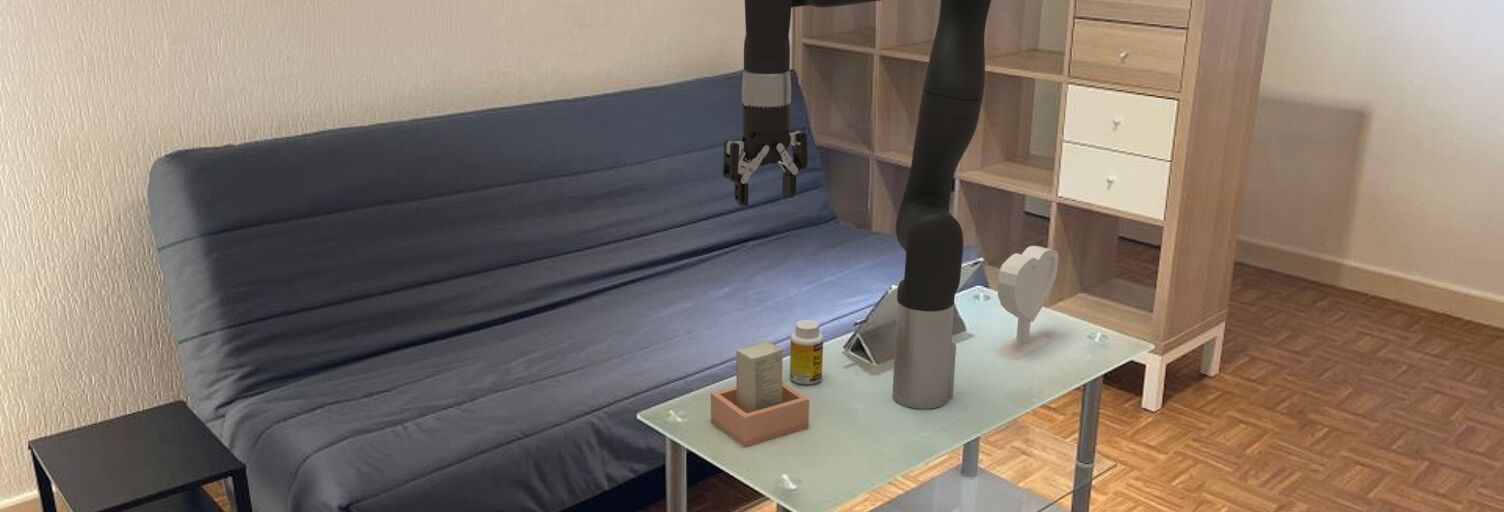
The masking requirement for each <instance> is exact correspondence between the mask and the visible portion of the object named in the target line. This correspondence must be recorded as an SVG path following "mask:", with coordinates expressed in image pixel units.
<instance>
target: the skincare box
mask: <svg viewBox="0 0 1504 512" xmlns="http://www.w3.org/2000/svg"><path fill="white" fill-rule="evenodd" d="M735 352H736V364H735V365H736V386H737V407H738V408H740V409H741V410H742V411H744V412H745V413H750V412H754V411H757V410H761V409H764V408H768V407H771V406H775V405H778V404H782V382H783V376H784V375H783V373H784V372H783V371H784V370H783V363H784V362H783V359H784V358H783V357H784V356H783V354H784V351H783V348H781V347H779V346H777V345H776V344H774V343H772V342H770V341H769V340H763V341H760V342H757V343H754V344H751V345H747V346H744V347H741V348H738V349H736V351H735Z"/></svg>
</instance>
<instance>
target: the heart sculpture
mask: <svg viewBox="0 0 1504 512" xmlns="http://www.w3.org/2000/svg"><path fill="white" fill-rule="evenodd" d="M1058 267H1059V253H1058V251H1057V250H1055V249H1051V248H1046V247H1043V246H1038V245H1030V246H1028V247H1027V248H1026V249H1024V251H1023V252H1022V253H1021V254H1020V253H1016V252H1015V253H1013V254H1011V255H1010V256H1009V257H1008V258H1007V259H1005V261H1004V262H1003V263H1002V265H1001V266H1000V269H999V270H998V276H997V297H998V300H999V302H1000V306H1002V307H1003V309H1005V311H1007V312H1008V313H1010V314H1011V315H1013V316H1014V317H1016V318H1017V327H1016V337H1015V338H1013V339H1012V340H1011V341H1009V342H1007V343H1005V344H1004V345H1002V346H1000V347H999V348H997V349H995V350H993V352H995V353H996V354H997V355H998V356H1001V357H1003V358H1008V359H1016V360H1018V359H1020V358H1022V357H1023V356H1026V355H1027V354H1028V353H1030V352H1032V351H1034V350H1035V349H1037V348H1039V347H1041V346H1042V345H1044V344H1046V343H1047V342H1048V341H1050V340H1051V339H1050V338H1049V337H1047V336H1045V335H1043V334H1040V333H1036V332H1031V323H1033V322H1034V321H1035V320H1036V318H1037V316H1038V314H1039V313H1040V311H1041V310H1042V308H1043V307H1044V305H1045V303H1046V302H1047V300H1048V298H1049V296H1050V294H1051V292H1052V290H1053V286H1054V283H1055V281H1056V278H1057V273H1058Z"/></svg>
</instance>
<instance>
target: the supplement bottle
mask: <svg viewBox="0 0 1504 512" xmlns="http://www.w3.org/2000/svg"><path fill="white" fill-rule="evenodd" d="M794 329H795V330H794V332H793V333H792V334H791V335H790V344H789V345H790V348H789V350H790V352H789V355H790V356H789V378H790V379H791V381H792V382H794V383H796V384H799V385H815V384H817V383H819V382H821V380H822V377H823V356H824V335H823V334H822V333H821V332H820V324H819V322H817V321H815V320H812V319H804V320H803V319H802V320H799V321H797V322H796V323H795V328H794Z"/></svg>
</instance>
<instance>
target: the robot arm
mask: <svg viewBox="0 0 1504 512" xmlns="http://www.w3.org/2000/svg"><path fill="white" fill-rule="evenodd" d="M880 1H882V0H744V17H745V18H744V19H745V21H744V22H745V23H744V24H745V37H744V43H743V75H742V80H741V81H742V82H741V129H742V134H743V135H742V138H741V140H738V141H737V140H736V141H733V140H729V139H727V140H725V141H724V143H723V144H724V145H723V162H722V163H723V164H722V176H723V178H724V179H727V180H730V181H731V182H734V200H735V202H737V205H739V206H741V207H748V206H749V183H748V181H749V179H750V178H751V175H752V174H753V173H755V172H756V171H757V169H758V168H759V166H760V167H763V166H767V165H769V164H770V165H775V164H778V165H779V166H780V167H781V168H782V169H783V171H784V172H782V196H783V197H785V198H787V199H789V198H793V197H794V196H795V193H796V191H797V174H798V173H799V172H800V171H802V170H806V169H808V166H809V165H808V140H807V139H808V136H807V133H806V132H803V131H800V130H797V129H793V130H792V132H789V130H790V129H791V125H792V124H791V122H792V121H791V117H792V116H791V115H792V111H791V110H792V81H791V73H790V72H791V71H790V68H791V67H790V66H791V45H790V30H791V16H792V8H795V7H796V8H797V7H806V6H812V7H814V8H832V7H841V6H850V5H859V4H867V3H873V2H880ZM991 3H992V0H940V6H939V7H940V8H939V15H938V23H937V26H936V32H935V36H934V39H933V43H932V46H931V51H930V55H929V59H928V63H927V68H926V69H927V70H926V73H925V74H926V75H925V79H924V83H923V87H922V93H921V99H920V104H919V110H918V111H919V112H918V119H917V123H916V124H917V125H916V130H915V137H914V143H913V149H912V160H911V165H910V169H909V175H908V177H907V182H906V184H905V185H906V186H905V190H904V192H903V196H902V198H901V199H902V200H901V203H900V205H899V209H898V213H897V216H896V220H895V235H896V239H897V241H898V243H899V244H900V247H902V249H903V250H904V251H905V262H904V275H903V276H904V277H903V279H901V280H900V282H899V283H898V285H897V290H896V291H897V292H896V311H895V312H896V313H895V314H896V316H895V334H894V335H895V336H894V355H893V356H894V358H893V376H892V377H893V378H892V381H893V382H892V398H893V400H895V402H897V403H898V404H900V405H902V406H904V407H908V408H913V409H920V410H921V409H923V410H926V409H929V410H930V409H934V408H939V407H941V406H943V405H945V404H946V403H947V402H948V400H949V399H952V398H953V397H954V385H955V371H956V370H955V368H956V354H957V346H956V343H954V342H953V331H954V330H953V328H954V313H955V311H954V310H955V297H956V293H957V292H958V290H959V287H960V283H961V274H962V266H963V257H964V256H963V254H964V233H963V228H962V226H961V224H960V223H959V221H958V220H957V219H956V217H954V216H953V215H952V214H951V213H950V203H951V195H952V189H953V188H952V187H953V182H954V177H955V173H956V171H957V167H958V166H959V163H960V161H961V159H962V157H964V156H963V155H964V154H965V152H966V151H967V149H968V148H969V146H970V144H971V141H972V139H973V137H974V135H975V133H976V130H977V126H978V123H979V119H980V113H981V108H982V103H983V98H984V91H985V81H986V80H985V79H986V53H985V51H986V49H985V48H986V46H985V35H986V25H987V20H988V15H989V10H990V8H991ZM790 144H791V150H792V151H791V152H792V157H791V155H790V154H789V152H788V151H787V149H788V147H789V145H790ZM742 150H743V152H744V153H743V154H742ZM740 155H741V157H740ZM749 161H750V162H749Z"/></svg>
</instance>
